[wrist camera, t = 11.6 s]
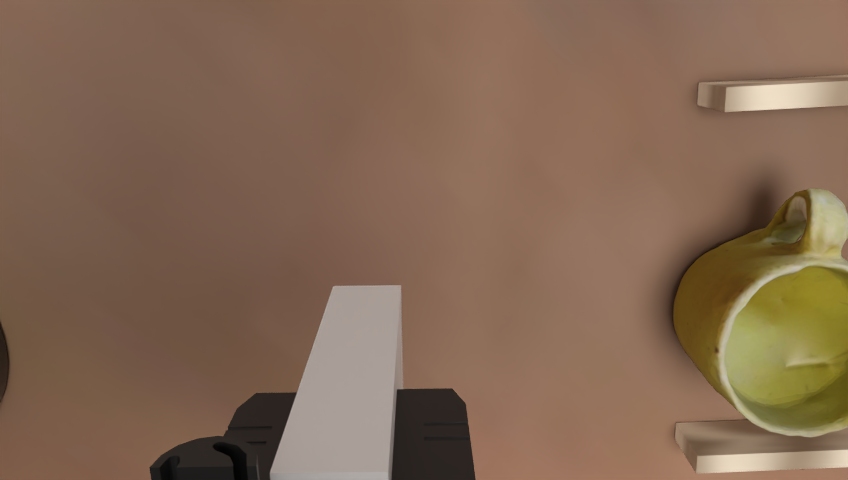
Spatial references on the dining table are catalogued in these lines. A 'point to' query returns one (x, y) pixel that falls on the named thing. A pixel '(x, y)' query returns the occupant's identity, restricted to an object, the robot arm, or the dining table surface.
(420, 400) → the robot arm
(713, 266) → the mug
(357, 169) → the dining table surface
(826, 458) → the cradle
